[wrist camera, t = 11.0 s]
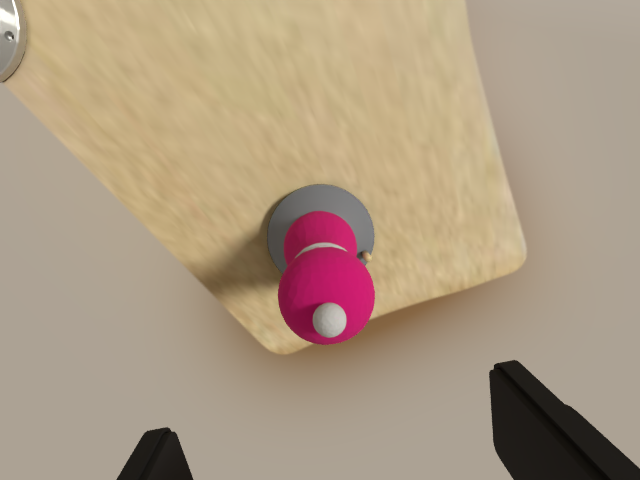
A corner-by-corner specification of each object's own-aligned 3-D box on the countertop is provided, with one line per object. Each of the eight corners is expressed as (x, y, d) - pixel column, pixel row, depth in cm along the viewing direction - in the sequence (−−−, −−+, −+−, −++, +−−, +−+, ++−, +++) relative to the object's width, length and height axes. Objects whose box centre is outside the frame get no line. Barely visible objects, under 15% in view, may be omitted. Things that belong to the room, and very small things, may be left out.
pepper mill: (292, 273, 36) (272, 401, 16) (281, 211, 34) (243, 271, 15) (355, 263, 36) (409, 379, 16) (346, 201, 34) (395, 246, 15)
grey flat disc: (255, 267, 37) (250, 276, 34) (287, 168, 34) (285, 169, 31) (350, 297, 38) (354, 309, 35) (387, 204, 35) (395, 208, 32)
